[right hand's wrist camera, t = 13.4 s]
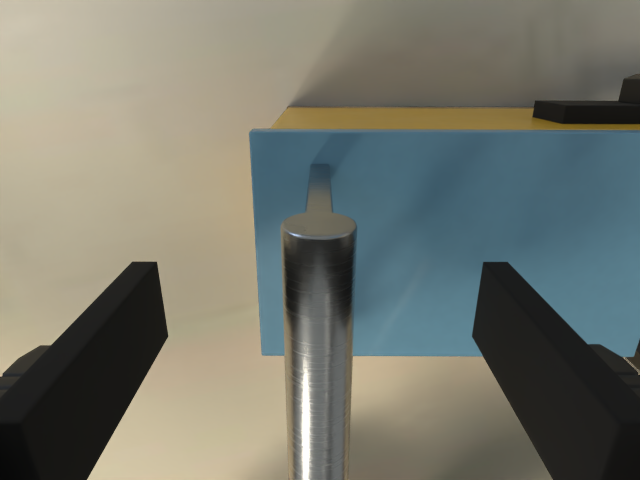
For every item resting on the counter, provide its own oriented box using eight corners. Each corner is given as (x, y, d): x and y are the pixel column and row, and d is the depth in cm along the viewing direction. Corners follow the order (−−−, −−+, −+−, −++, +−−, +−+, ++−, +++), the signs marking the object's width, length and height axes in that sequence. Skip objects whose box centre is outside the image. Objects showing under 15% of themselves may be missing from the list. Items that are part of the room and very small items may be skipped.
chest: (291, 256, 29) (277, 344, 20) (287, 106, 25) (269, 128, 16) (525, 256, 29) (621, 346, 20) (554, 107, 25) (689, 129, 16)
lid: (263, 345, 20) (224, 533, 12) (252, 128, 16) (184, 187, 8) (622, 346, 19) (827, 536, 12) (689, 130, 16) (1051, 190, 8)
